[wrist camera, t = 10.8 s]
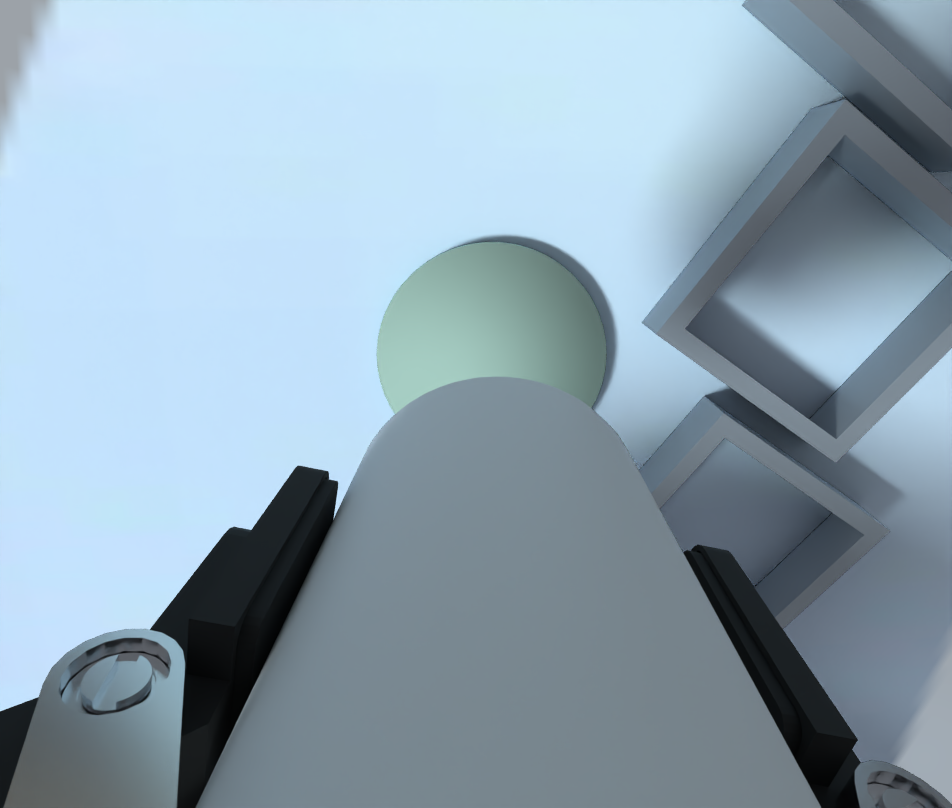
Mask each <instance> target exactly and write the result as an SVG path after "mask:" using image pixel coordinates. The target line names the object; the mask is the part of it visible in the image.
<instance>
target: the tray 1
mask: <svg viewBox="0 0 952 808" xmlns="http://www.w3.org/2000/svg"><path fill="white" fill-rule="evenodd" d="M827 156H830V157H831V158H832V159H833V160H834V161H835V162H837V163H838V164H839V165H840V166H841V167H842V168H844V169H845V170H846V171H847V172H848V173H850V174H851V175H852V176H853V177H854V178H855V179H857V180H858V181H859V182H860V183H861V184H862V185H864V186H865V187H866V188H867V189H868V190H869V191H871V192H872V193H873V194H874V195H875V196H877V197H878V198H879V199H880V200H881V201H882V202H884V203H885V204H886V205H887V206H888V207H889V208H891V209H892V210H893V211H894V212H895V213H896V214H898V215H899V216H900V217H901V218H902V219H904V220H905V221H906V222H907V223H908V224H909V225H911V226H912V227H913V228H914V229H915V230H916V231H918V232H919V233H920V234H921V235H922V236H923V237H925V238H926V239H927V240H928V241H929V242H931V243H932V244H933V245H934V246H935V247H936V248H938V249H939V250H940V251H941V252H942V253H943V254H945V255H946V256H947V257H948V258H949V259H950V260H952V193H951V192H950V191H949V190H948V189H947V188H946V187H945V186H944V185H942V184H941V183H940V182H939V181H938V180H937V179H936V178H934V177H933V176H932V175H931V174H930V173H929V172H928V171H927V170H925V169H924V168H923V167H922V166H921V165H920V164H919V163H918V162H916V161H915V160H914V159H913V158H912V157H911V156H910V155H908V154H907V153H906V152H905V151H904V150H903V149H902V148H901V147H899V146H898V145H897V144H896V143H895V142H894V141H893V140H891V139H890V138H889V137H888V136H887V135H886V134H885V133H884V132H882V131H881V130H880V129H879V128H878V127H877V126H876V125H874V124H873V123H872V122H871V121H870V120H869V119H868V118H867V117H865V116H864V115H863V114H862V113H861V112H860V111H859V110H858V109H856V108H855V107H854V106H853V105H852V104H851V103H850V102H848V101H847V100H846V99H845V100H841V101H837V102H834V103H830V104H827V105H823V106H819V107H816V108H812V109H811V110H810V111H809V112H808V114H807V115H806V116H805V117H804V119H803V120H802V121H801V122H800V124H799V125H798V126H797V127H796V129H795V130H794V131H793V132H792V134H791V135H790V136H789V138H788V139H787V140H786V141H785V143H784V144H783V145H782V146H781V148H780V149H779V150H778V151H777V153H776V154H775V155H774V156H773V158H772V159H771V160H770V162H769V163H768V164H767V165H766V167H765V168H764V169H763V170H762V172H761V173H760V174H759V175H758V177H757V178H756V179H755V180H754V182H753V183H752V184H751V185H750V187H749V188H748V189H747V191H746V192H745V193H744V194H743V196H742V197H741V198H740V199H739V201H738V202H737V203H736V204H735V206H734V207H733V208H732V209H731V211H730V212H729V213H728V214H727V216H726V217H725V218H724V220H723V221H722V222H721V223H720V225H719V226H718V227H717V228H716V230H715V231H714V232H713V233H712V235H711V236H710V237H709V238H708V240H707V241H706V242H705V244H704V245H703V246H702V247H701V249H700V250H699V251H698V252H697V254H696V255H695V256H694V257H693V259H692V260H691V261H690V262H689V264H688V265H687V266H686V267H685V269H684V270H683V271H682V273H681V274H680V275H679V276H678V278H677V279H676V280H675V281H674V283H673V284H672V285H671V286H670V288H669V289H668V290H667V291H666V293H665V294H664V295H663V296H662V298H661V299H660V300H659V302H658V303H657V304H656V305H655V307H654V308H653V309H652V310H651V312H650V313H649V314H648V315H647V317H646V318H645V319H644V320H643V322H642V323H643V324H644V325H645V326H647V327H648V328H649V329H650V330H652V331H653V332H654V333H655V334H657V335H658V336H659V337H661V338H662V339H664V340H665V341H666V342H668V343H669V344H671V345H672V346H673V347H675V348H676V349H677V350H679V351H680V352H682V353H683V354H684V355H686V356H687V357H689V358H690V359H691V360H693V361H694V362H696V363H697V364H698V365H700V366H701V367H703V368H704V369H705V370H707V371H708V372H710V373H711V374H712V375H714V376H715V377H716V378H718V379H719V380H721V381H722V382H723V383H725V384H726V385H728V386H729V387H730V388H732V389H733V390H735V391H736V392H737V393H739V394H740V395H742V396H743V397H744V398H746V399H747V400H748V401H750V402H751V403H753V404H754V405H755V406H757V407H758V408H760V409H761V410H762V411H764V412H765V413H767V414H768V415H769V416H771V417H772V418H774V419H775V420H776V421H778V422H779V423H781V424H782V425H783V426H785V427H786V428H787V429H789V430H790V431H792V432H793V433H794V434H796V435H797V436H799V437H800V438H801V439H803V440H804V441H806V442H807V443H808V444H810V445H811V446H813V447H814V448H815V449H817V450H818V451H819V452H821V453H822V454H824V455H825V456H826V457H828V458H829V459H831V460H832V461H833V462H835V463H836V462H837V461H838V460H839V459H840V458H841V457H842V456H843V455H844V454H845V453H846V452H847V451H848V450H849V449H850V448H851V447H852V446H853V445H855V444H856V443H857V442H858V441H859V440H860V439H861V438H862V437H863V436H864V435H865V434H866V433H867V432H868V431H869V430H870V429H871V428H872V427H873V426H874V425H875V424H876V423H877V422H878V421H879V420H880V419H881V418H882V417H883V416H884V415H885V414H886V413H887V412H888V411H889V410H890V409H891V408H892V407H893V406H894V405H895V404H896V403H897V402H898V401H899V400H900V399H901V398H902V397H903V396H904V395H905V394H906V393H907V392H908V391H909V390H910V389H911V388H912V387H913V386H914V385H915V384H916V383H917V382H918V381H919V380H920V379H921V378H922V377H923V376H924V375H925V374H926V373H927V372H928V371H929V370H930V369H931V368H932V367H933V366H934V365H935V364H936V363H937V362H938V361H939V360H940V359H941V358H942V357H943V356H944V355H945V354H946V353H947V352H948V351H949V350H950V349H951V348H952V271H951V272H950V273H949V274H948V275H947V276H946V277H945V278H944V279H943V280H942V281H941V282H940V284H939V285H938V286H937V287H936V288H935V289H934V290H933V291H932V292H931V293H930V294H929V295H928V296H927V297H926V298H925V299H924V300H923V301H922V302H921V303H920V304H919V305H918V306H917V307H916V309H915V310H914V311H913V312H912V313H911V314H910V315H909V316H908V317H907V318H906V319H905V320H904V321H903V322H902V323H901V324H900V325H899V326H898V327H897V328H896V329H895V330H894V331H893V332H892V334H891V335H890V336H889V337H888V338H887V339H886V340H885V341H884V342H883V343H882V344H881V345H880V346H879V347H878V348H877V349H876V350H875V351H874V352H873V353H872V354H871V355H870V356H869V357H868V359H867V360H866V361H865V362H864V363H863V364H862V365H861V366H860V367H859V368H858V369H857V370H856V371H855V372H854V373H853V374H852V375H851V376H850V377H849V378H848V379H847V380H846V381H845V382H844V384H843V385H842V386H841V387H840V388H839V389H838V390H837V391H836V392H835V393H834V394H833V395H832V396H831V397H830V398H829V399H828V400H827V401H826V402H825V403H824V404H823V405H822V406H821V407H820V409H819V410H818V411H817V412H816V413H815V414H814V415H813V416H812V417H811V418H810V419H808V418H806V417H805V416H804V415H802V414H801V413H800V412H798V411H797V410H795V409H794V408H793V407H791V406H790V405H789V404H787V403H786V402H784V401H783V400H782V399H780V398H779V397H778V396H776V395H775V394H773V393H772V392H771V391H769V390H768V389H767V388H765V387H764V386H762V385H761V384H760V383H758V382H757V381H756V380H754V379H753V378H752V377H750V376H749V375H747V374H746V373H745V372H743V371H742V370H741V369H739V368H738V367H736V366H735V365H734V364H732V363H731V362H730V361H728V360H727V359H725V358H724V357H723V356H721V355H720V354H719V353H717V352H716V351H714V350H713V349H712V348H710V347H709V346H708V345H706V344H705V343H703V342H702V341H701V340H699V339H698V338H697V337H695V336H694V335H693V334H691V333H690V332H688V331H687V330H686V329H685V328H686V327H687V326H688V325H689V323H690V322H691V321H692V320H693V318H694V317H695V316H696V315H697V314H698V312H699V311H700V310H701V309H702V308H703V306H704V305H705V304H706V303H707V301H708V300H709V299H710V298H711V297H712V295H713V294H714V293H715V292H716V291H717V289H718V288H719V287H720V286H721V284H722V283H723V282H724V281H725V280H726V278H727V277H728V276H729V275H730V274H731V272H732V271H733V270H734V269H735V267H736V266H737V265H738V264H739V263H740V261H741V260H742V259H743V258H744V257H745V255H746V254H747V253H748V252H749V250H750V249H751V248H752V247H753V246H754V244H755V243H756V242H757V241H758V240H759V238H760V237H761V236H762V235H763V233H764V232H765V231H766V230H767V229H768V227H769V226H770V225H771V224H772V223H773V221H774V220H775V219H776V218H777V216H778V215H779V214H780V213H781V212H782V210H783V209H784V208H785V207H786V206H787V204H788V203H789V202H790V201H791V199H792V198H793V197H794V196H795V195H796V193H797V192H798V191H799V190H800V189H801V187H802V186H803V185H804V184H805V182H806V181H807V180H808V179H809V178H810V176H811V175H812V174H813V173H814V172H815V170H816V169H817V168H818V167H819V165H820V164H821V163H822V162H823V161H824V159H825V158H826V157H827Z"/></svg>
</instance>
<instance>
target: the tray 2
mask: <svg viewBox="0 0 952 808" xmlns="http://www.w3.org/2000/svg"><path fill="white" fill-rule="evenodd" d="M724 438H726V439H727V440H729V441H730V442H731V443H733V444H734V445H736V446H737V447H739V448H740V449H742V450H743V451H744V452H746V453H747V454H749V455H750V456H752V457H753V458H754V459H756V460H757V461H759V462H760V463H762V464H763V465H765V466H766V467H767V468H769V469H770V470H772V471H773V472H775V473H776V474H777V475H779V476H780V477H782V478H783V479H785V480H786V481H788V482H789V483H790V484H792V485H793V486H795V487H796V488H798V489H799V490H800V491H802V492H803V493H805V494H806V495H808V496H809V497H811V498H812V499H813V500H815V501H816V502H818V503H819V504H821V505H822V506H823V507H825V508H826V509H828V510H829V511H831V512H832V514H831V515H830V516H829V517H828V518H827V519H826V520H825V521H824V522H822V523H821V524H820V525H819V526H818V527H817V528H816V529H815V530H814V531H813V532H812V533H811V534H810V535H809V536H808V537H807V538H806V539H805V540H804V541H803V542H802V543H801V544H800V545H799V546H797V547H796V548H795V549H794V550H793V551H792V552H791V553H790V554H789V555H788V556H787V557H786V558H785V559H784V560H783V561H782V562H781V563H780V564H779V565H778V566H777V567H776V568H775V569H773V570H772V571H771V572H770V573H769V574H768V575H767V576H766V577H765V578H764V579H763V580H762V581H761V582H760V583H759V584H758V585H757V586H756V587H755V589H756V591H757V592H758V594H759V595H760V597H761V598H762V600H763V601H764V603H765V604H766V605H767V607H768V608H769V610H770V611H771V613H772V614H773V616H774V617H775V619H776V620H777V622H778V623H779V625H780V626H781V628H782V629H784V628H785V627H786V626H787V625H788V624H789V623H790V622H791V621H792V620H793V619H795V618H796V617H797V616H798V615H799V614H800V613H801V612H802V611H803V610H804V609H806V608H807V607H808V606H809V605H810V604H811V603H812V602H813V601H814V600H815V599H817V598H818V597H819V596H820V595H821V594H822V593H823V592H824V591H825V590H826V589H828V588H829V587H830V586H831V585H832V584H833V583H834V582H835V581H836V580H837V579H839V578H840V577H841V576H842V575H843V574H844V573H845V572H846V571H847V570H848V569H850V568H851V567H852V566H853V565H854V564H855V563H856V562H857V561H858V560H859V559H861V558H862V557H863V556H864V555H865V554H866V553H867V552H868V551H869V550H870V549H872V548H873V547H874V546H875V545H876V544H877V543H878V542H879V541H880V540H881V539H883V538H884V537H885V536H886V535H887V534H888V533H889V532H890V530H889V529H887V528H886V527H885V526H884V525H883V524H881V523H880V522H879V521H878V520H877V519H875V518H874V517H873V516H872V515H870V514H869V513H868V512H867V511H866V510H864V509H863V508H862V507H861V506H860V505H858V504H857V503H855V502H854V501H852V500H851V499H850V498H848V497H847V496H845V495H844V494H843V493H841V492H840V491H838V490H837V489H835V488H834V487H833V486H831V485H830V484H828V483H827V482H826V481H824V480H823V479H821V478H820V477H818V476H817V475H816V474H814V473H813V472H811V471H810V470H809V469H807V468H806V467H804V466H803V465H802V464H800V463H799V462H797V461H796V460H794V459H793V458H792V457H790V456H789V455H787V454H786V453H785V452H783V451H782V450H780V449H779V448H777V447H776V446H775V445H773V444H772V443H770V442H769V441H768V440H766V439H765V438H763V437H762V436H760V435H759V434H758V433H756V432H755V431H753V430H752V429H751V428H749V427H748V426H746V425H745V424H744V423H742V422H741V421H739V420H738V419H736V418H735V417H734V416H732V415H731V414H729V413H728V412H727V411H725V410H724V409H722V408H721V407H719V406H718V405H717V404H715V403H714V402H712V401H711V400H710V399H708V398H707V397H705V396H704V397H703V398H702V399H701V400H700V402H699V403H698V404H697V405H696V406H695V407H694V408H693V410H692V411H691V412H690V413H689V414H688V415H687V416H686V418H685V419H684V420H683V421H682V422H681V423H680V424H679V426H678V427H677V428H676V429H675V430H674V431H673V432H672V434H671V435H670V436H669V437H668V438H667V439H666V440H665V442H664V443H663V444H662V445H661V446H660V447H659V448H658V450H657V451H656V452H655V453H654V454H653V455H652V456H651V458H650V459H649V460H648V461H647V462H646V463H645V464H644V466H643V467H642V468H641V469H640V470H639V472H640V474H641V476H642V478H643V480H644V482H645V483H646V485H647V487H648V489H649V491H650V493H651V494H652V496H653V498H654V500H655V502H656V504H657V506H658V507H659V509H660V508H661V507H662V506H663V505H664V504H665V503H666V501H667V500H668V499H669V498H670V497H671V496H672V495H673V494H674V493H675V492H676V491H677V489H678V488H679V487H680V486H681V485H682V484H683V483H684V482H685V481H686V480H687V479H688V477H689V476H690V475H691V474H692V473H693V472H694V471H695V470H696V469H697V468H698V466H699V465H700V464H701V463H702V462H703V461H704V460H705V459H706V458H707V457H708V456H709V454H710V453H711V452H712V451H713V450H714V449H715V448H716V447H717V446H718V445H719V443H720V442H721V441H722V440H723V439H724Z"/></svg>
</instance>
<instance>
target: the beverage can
mask: <svg viewBox="0 0 952 808" xmlns="http://www.w3.org/2000/svg"><path fill="white" fill-rule="evenodd" d="M196 808H821V806H820V804H819V803H818V801H817V799H816V797H815V795H814V793H813V792H812V790H811V788H810V786H809V784H808V782H807V780H806V779H805V777H804V775H803V773H802V771H801V769H800V768H799V766H798V764H797V762H796V760H795V758H794V756H793V755H792V753H791V751H790V749H789V747H788V745H787V744H786V742H785V740H784V738H783V736H782V734H781V732H780V731H779V729H778V727H777V725H776V723H775V721H774V720H773V718H772V716H771V714H770V712H769V710H768V709H767V707H766V705H765V703H764V701H763V699H762V697H761V696H760V694H759V692H758V690H757V688H756V686H755V685H754V683H753V681H752V679H751V677H750V675H749V673H748V672H747V670H746V668H745V666H744V664H743V662H742V661H741V659H740V657H739V655H738V653H737V651H736V649H735V648H734V646H733V644H732V642H731V640H730V638H729V637H728V635H727V633H726V631H725V629H724V627H723V625H722V624H721V622H720V620H719V618H718V616H717V614H716V613H715V611H714V609H713V607H712V605H711V603H710V601H709V600H708V598H707V596H706V594H705V592H704V590H703V589H702V587H701V585H700V583H699V581H698V579H697V577H696V576H695V574H694V572H693V570H692V568H691V566H690V565H689V563H688V561H687V559H686V557H685V555H684V553H683V552H682V550H681V548H680V546H679V544H678V542H677V541H676V539H675V537H674V535H673V533H672V531H671V530H670V528H669V526H668V524H667V522H666V520H665V518H664V517H663V515H662V513H661V511H660V509H659V507H658V506H657V504H656V502H655V500H654V498H653V496H652V494H651V493H650V491H649V489H648V487H647V485H646V483H645V482H644V480H643V478H642V476H641V474H640V472H639V470H638V469H637V467H636V465H635V463H634V461H633V459H632V458H631V456H630V454H629V452H628V450H627V448H626V447H625V445H624V443H623V442H622V440H621V439H620V437H619V436H618V434H617V433H616V432H615V430H614V429H613V428H612V427H611V426H610V425H609V424H608V423H607V422H606V421H605V420H604V419H603V418H601V417H600V416H599V415H598V414H597V413H596V412H595V411H594V410H593V409H591V408H590V407H589V406H588V405H587V404H585V403H584V402H583V401H581V400H579V399H578V398H576V397H574V396H572V395H570V394H569V393H566V392H564V391H562V390H560V389H558V388H555V387H553V386H550V385H547V384H544V383H540V382H537V381H533V380H528V379H521V378H513V377H478V378H471V379H467V380H462V381H457V382H454V383H450V384H447V385H444V386H442V387H439V388H437V389H434V390H432V391H429V392H427V393H425V394H423V395H421V396H420V397H418V398H417V399H415V400H413V401H412V402H410V403H409V404H407V405H406V406H404V407H403V408H402V409H401V410H400V411H398V412H397V413H396V414H395V415H394V416H393V417H392V418H391V419H390V420H389V421H388V422H387V423H386V424H385V425H384V426H383V427H382V428H381V430H380V431H379V432H378V434H377V435H376V436H375V437H374V439H373V440H372V442H371V443H370V445H369V447H368V449H367V451H366V453H365V455H364V457H363V459H362V461H361V463H360V465H359V467H358V469H357V472H356V474H355V476H354V478H353V480H352V482H351V484H350V486H349V488H348V490H347V492H346V495H345V497H344V499H343V501H342V503H341V505H340V507H339V509H338V511H337V513H336V515H335V518H334V520H333V522H332V524H331V526H330V528H329V530H328V532H327V534H326V536H325V538H324V541H323V543H322V545H321V547H320V549H319V551H318V553H317V555H316V557H315V559H314V561H313V564H312V566H311V568H310V570H309V572H308V574H307V576H306V578H305V580H304V582H303V584H302V587H301V589H300V591H299V593H298V595H297V597H296V599H295V601H294V603H293V605H292V607H291V610H290V612H289V614H288V616H287V618H286V620H285V622H284V624H283V626H282V628H281V630H280V633H279V635H278V637H277V639H276V641H275V643H274V645H273V647H272V649H271V651H270V653H269V656H268V658H267V660H266V662H265V664H264V666H263V668H262V670H261V672H260V674H259V676H258V679H257V681H256V683H255V685H254V687H253V689H252V691H251V693H250V695H249V697H248V699H247V702H246V704H245V706H244V708H243V710H242V712H241V714H240V716H239V718H238V720H237V722H236V725H235V727H234V729H233V731H232V733H231V735H230V737H229V739H228V741H227V743H226V745H225V748H224V750H223V752H222V754H221V756H220V758H219V760H218V762H217V764H216V766H215V768H214V771H213V773H212V775H211V777H210V779H209V781H208V783H207V785H206V787H205V789H204V791H203V794H202V796H201V798H200V800H199V802H198V804H197V806H196Z"/></svg>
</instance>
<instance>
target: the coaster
mask: <svg viewBox="0 0 952 808" xmlns="http://www.w3.org/2000/svg"><path fill="white" fill-rule="evenodd" d="M606 356H607V354H606V339H605V334H604V328H603V324H602V321H601V318H600V315H599V312H598V310H597V308H596V306H595V304H594V302H593V300H592V298H591V297H590V295H589V294H588V293H587V291H586V290H585V288H584V287H583V285H582V284H581V283H580V282H579V281H578V280H577V279H576V278H575V277H574V276H573V274H571V273H570V272H569V271H568V270H567V269H565V268H564V267H563V266H562V265H561V264H559V263H558V262H556V261H555V260H553V259H552V258H550V257H548V256H547V255H545V254H543V253H540V252H538V251H536V250H534V249H531V248H528V247H524V246H521V245H518V244H512V243H505V242H479V243H472V244H467V245H463V246H459V247H456V248H453V249H450V250H448V251H446V252H443V253H441V254H439V255H437V256H436V257H434V258H432V259H431V260H429V261H427V262H426V263H425V264H423V265H422V266H421V267H420V268H418V269H417V270H416V271H415V272H414V273H413V274H412V275H411V276H410V277H409V278H408V279H407V280H406V281H405V282H404V283H403V284H402V285H401V287H400V288H399V290H398V291H397V292H396V294H395V295H394V296H393V298H392V300H391V302H390V304H389V306H388V308H387V310H386V312H385V315H384V317H383V320H382V323H381V327H380V331H379V336H378V344H377V366H378V372H379V378H380V382H381V385H382V388H383V391H384V394H385V397H386V399H387V401H388V403H389V405H390V407H391V409H392V410H393V412H394V413H395V414H396V413H397V412H398V411H400V410H401V409H402V408H403V407H404V406H406V405H407V404H409V403H410V402H412V401H413V400H415V399H417V398H418V397H420V396H421V395H423V394H425V393H427V392H429V391H432V390H434V389H437V388H439V387H442V386H444V385H447V384H450V383H454V382H457V381H462V380H467V379H471V378H478V377H513V378H521V379H528V380H533V381H537V382H540V383H544V384H547V385H550V386H553V387H555V388H558V389H560V390H562V391H564V392H566V393H569V394H570V395H572V396H574V397H576V398H578V399H579V400H581V401H583V402H584V403H585V404H587V405H588V406H589V407H590V408H592V406H593V404H594V402H595V401H596V399H597V396H598V394H599V391H600V388H601V386H602V382H603V378H604V373H605V368H606Z"/></svg>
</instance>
